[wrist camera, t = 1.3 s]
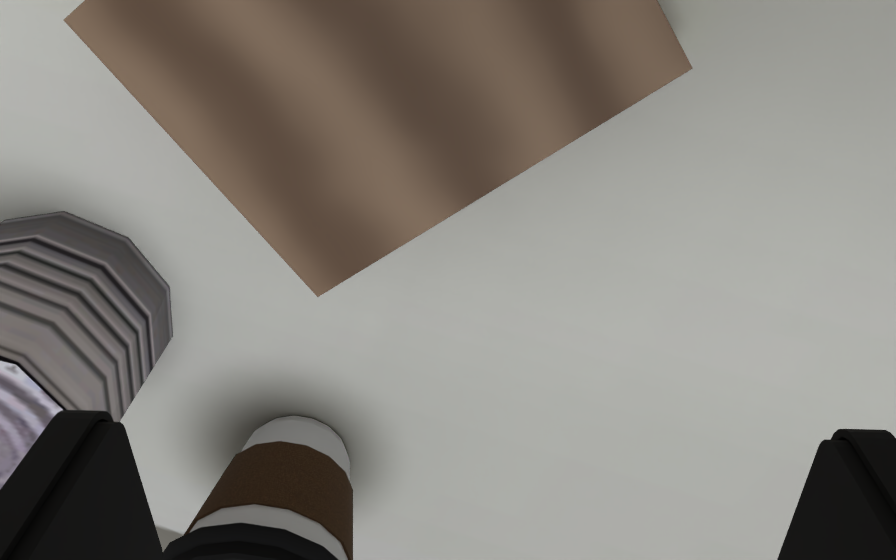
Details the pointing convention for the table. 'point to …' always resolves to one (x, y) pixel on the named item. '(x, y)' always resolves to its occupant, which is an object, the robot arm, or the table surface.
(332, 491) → the coffee cup
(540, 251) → the table surface
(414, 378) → the table surface
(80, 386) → the can
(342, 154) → the walnut plinth
